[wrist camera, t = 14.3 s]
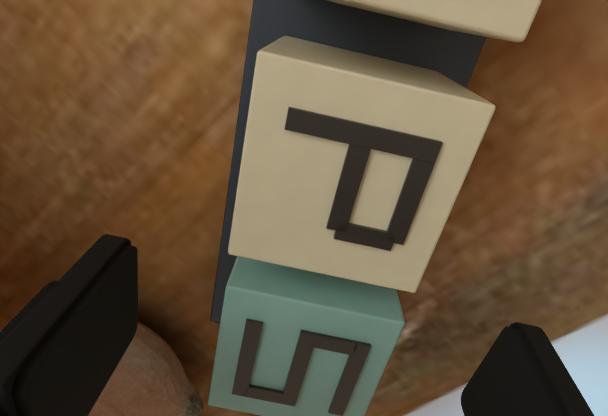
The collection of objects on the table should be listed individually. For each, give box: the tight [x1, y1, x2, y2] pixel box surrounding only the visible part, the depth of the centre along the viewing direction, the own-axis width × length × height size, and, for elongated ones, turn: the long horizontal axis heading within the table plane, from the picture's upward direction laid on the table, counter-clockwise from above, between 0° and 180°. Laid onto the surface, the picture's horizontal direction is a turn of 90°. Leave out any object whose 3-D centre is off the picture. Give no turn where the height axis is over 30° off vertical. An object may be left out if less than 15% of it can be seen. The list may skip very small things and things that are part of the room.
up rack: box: [210, 0, 542, 323], centre depth 10 cm, size 17×6×5 cm, turn 168°
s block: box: [208, 256, 405, 416], centre depth 12 cm, size 4×4×4 cm
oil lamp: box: [88, 322, 204, 416], centre depth 16 cm, size 9×4×8 cm
